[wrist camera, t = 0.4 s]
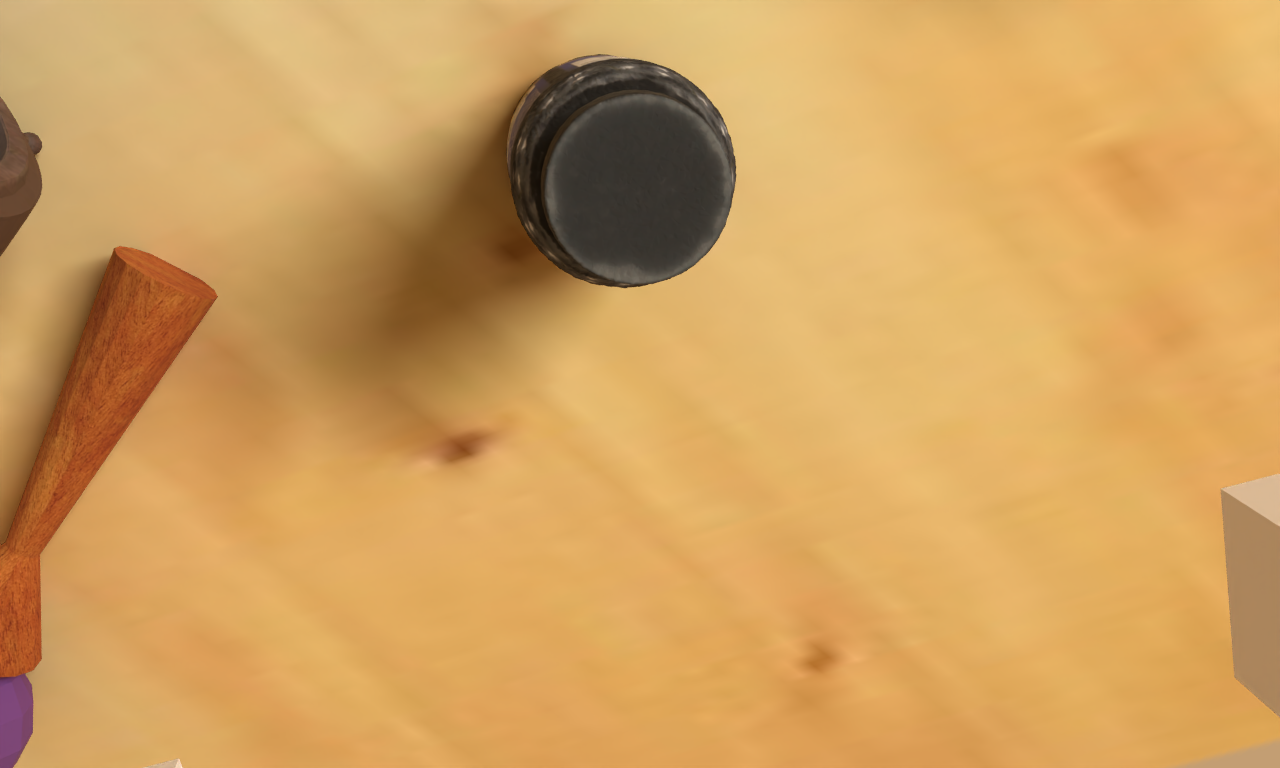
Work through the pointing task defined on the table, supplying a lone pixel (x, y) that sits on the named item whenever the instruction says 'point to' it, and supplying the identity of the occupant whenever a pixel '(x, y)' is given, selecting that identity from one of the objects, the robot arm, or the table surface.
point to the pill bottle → (620, 170)
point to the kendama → (86, 446)
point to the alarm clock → (16, 175)
